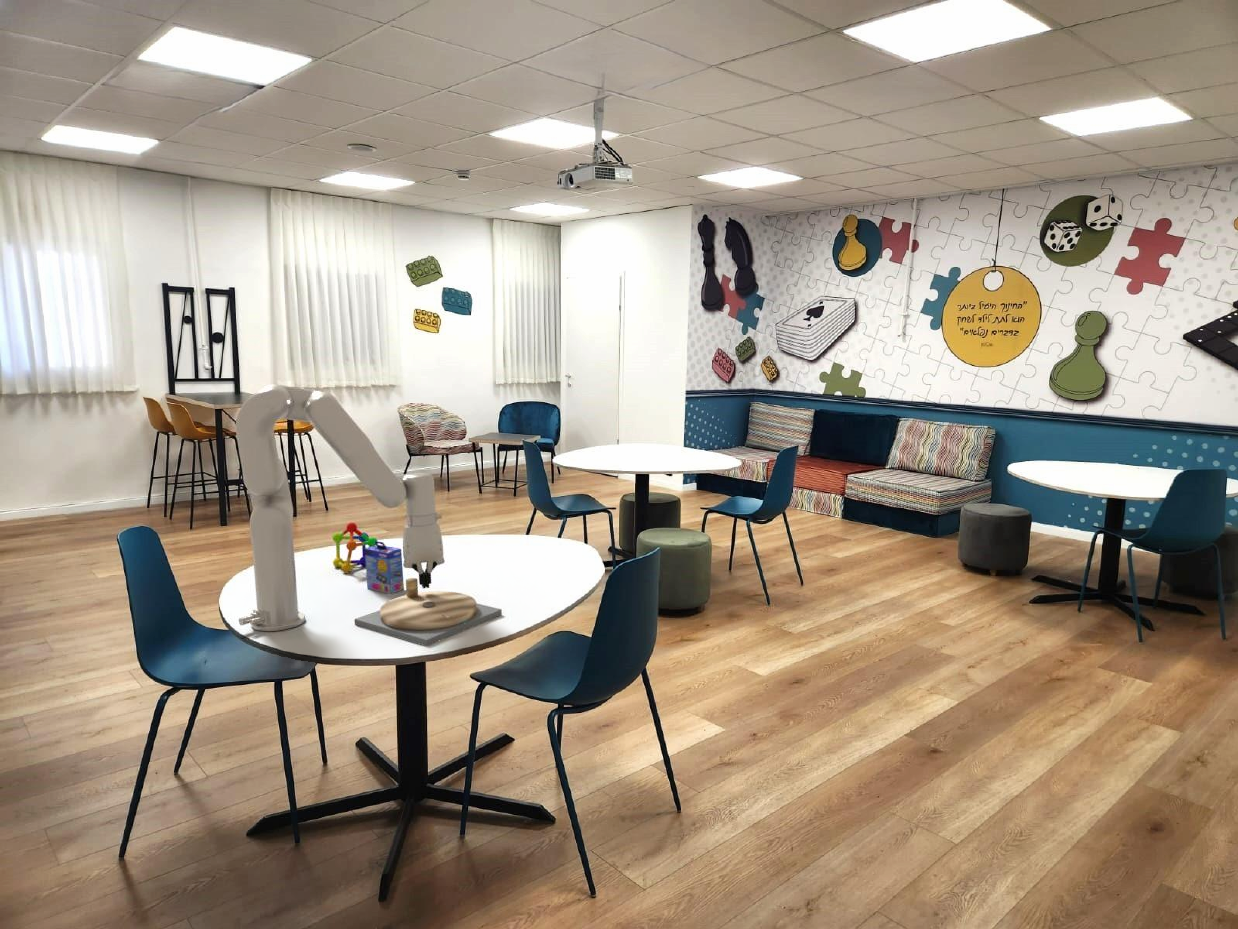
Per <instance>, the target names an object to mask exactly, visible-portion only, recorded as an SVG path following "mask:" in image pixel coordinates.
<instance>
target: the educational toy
mask: <svg viewBox="0 0 1238 929" xmlns="http://www.w3.org/2000/svg"><path fill="white" fill-rule="evenodd" d="M348 533H349V535H346V534H348ZM354 533H355V534H356V535H354ZM343 540H348V542H346V545H345V546H346V549H347V550H348V552H347V558H346V560H343V558H342V557H341V554H340V553H341V550H340V545H341V544H340V543H341V542H342V541H343ZM355 540H359V542H356V541H355ZM332 541H333V542H335V545H336V547H335V548H336V551H335V552H336V558H334V560H333V561H332V563H333V566H334V567H335V568H341V571H342V572H343V573H345V574H349V573H350V572H351V571H352V570H353V568H356V567H358V566H362V567H366V559H365V548H367V547H366V546H368V547H371V546H375V545H376V544H375V542H374V541H378V539H377V538H376V537H372V536H371V537H369V534H368V533H366V532H362V531H360V530H359V529H358V526H357V524H356V523H355V522H349V523H347V525H346V529H345V530H344V531H342V532H335V533H334V534H333V535H332ZM358 547H361V550H362V552H361V553H362V557H360V558H359V559H352V554H353V551H355V550H356V549H357V548H358ZM351 559H352V560H351Z"/></svg>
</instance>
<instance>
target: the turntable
mask: <svg viewBox="0 0 1238 929" xmlns="http://www.w3.org/2000/svg"><path fill="white" fill-rule="evenodd" d="M418 583H419V580H418V578H416V577H411V578H410V577H409V578H407V579H405V589H406V590H405V591H406V592H405V593H406V594H405V595H402V596H399V597H395V598H393V599H390V600H388V601H386V602H385V603H384V604H383V605H381V607H380V609H379V610H380V617H381V621H382V622H383V623H384V624H386V625H388V626H390V627H394V628H399V629H406V630H429V629H438V628H444V627H449V626H453V625H457V624H460V623H463V622H465V621H467V620H469V619H471V618H472V617H473V616H474V615H475V614H476V612H477V605H476V603H477V599H475V597H472V596H471V595H469V594H464V593H461V592H456V591H455V592H454V591H440V590H439V591H424V592H419V587H418Z"/></svg>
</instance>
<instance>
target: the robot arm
mask: <svg viewBox="0 0 1238 929" xmlns="http://www.w3.org/2000/svg"><path fill="white" fill-rule="evenodd" d="M280 420H291V421H296V422H303V423H310V425H311V426H312V427H313V428H314V429H315V431H316V432H317V433H318V434H319V435H320V436H321V437H322V439H323V440H324V441H325V442H326V443H327V444H328V445H329V446H330V448H331V449H332V450H333V451H334V453H335V454H336V455H337V456H338V457H339V458H340V460H341V461H342V462H343V463H344V464H345V466H346V467H347V468H348V469H349V470H350V471H351V472H352V473H353V474H354V475H355V476H356V478H357V479H358V481H360V483H361V484H362V485H363V486H364V487H365V489H366V490H367V491H368V492H369V493H370V494H371V496H373V498H374V499H375V501H376V502H378V503H379V504H380V505H381V506H383V507H385V508H387V509H392V508H393V509H394V508H397V507H399V506H401V505H402V504H403V503H404V502H405V509H406V524H405V525H404V526H403V533H402V534H403V535H402V555H403V556H402V557H403V563H402V567H404V568H406V569H413V570H414V571H415V572H416V573H417V574H418V583H419V586H422V589H426V588H427V589H429V588H430V584H432V572H433V570H434V569H435V568H436V567H437V566H440V565H442V564H445V558H444V545H443V536H442V531H441V530H442V529H441V526H440V523H439V522H438V520H441V519H442V518H443V517H442V513H437V512H436V511H437V510H436V495H435V494H436V493H435V478H434V475H433V474H431V473H428V472H414V473H409V474H406V473H405V474H404V473H403V474H401V473H394V472H393V471H392V470H391V468H390V467H389V466H388V465H387V463H386V462H385V461H384V460H383V458H382V457H381V456H380V454H379V453H378V452H377V450H376V448H375V446H374V445H373V443H372V442H371V440H370V438H369V437H368V436H367V435H366V433H365V432H364V431H363V430H362V429H361V427H359V425H358V424H357V422H355V420H353V418H352V417H351V416H350V415H349V413H348V412H347V411H346V410H345V409H344V408H343V406H342V405H341V404H340V403H339V401H338V399H337V398H336V397H335V396H334V395H332V394H331V393H330V392H325V391H320V390H311V389H305V388H300V387H293V386H288V385H282V384H268V385H265V386H264V387H262V388H261V389H260V390H258V391H256V392H255V393H254V394H252V395H250V397H249V398H247V399H246V400H245V401H244V403H243V404H242V405H241V406H240V409H239V411H238V412H237V416H236V420H235V433H236V440H237V446H238V454H239V458H240V464H241V469H242V470H241V471H242V479H243V483H244V486H245V487H246V489H247V490H248V492H249V497H250V501H251V506H252V511H251V514H250V518H249V532H250V533H249V534H250V541H251V548H252V560H253V570H254V573H253V574H254V583H255V586H254V587H255V595H256V596H255V597H256V599H255V600H256V607H255V608H253V609H252V612H251V613H250V615H246V616H242V617H239V619H238V623H239V625H240V626H245V625H248V624H250V625H251V628H252V629H254V630H256V631H260V632H277V631H278V632H279V631H284V630H288V629H293V628H295V627H298V626H300V625H302V624H303V623H304V622H305V621H306V614H304V613H303V612H301V611H299V603H298V588H297V576H296V559H295V548H294V547H295V546H294V536H293V534H294V533H293V531H294V530H293V519H294V506H293V502H292V496H291V491H290V485H289V480H288V475H287V470H286V467H285V464H284V463H283V461H282V460H281V459H280V457H279V453H278V447H277V440H276V436H275V431H274V430H275V426H276V423H277V422H278V421H280ZM424 563H426V565H425V567H426V568H425V569H424V568H423V566H422V565H423V564H424Z"/></svg>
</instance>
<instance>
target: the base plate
mask: <svg viewBox="0 0 1238 929" xmlns="http://www.w3.org/2000/svg"><path fill="white" fill-rule="evenodd" d="M476 605H477V612H476V614H475V615H474V616H473V617H472V618H471V619H469V620H467V621H465V622H463V623H460V624H457V625H453V626H449V627H444V628H438V629H429V630H406V629H399V628H394V627H390V626H388V625H386V624H384V623H383V622H382V621H381V617H380V609H379V610H376V611H373V612H371V613H367V614H365V615H362V616H359V617H357V618H354V626H358V627H361V628H365V629H368V630H372V631H375V632H378V633H382V634H385V635H389V636H392V637H395V638H399V639H401V640H402V639H403V640H406V641H409V642H411V641H412V642H413V643H415V644H418V643H420V644H419V645H422V644H423V645H422V646H426V647H428V646H431V645H432V643H433V644H435V643H438V642H440V641H442V640H445V639H447V638H450V637H452V636H454V634H455V635H457V634H459V633H461V631H462V632H463V630H464V631H466V630H469V629H471V628H473V627H472V626H474V627H476V626H479V625H480V623H481V624H483V623H486V622H488V621H490V619H491V620H492V619H495V617H496V618H497V616H498V617H500V616H502V615H503V614H502V609H501V608H498V607H493V606H489V605H486V604H485V605H484V604H481V603H477V602H476ZM478 624H479V625H478ZM470 627H471V628H470ZM456 633H457V634H456ZM439 640H440V641H439Z"/></svg>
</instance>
